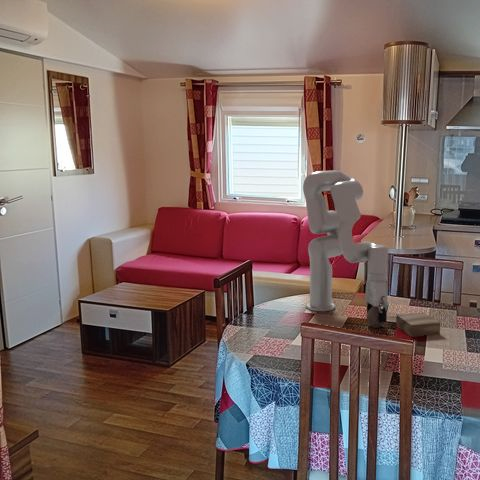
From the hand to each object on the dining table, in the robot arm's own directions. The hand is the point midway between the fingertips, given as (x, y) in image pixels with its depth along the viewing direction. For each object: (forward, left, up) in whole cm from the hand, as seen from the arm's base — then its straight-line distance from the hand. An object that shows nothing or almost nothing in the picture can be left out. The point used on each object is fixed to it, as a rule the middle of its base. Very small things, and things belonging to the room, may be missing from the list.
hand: (376, 318), depth 215 cm
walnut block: (+7, +14, -4) cm, 16 cm away
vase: (-1, 0, -4) cm, 4 cm away
